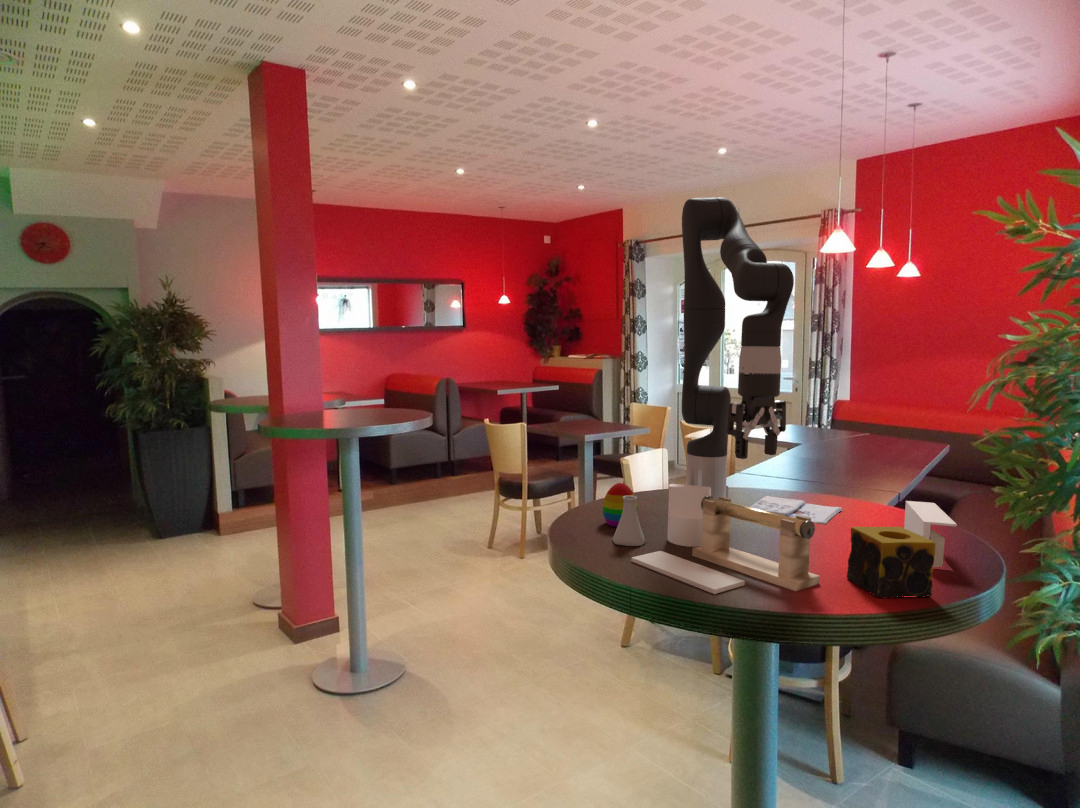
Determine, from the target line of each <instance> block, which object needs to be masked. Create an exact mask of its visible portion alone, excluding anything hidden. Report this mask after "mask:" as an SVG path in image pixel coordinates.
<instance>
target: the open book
mask: <svg viewBox="0 0 1080 808" xmlns="http://www.w3.org/2000/svg"><path fill="white" fill-rule="evenodd" d="M750 507H751V508H755V509H759V510H764V511H768V512H772V513H776V514H780V515H784V516H788V517H792V518H796V516H799V515H800V516H804V517H808V518H811V521H812V522H813V523H814V524H820V525H821V524H822V525H827V524H828V523H829V521H830V520H832V519H833V518H834V517H835V516H836V515H838V514H839V512H840V511H841V512H843V508H842V507H841V506H829V505H828V506H826V505H820V504H814V503H806V501H805V500H804V499H803V500H802V499H792V498H785V497H784V498H781V497H777V496H770V495H766V496H764V497H762V498H761V499H760V500H758V501H756V502H754V504H752V505H750ZM797 511H800V512H801V513H795V512H797ZM841 512H840V513H841Z"/></svg>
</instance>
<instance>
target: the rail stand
mask: <svg viewBox="0 0 1080 808" xmlns="http://www.w3.org/2000/svg"><path fill="white" fill-rule="evenodd" d="M719 500H723V501H727V502H731V503H732V499H731V498H730V497H728V498H726V497H719ZM715 511H716V502H715V501H711V500H707V499H705V500H703V522H702V546H697V547H692V550H691V551H692V553H691V556H692V557H695V558H699V559H701V560H703V561H707V562H709V563H712V564H715V565H718V566H721V567H724V568H726V569H730V570H733V571H736V572H740V573H741V574H744V575H747V576H750V577H752V578H756V579H758V580H761V581H764V582H768V583H770V584H774V585H776V586H779V587H781V588H785V589H787V590H791V591H793V592H799V591H801V590H804V589H807V588H811V587H813V586H817V585H820V577H821V576H820V575H819V574H815V573H812V572H809V570H810V550H811V549H810V548H811V547H810V546H811V538H810V539H806V538H803V537H802V536H799V535H795V524H796V522H795V521H791V520H787V519H781V526H780V530H779V544H778V545H779V549H778V551H779V552H778V561H774V560H771V559H767V558H765V557H762V556H759V555H755V554H752V553H748V552H745V551H742V550H739V549H736V548H733V547H731V546H730V543H731V542H730V541H731V539H730V537H731V519H732V517H729V516H725V515H721V514H717V513H715ZM796 519H800V520H804V521H805V520H809V521H811V518H808V517H804V516H800V515H799V516H796Z"/></svg>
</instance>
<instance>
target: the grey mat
mask: <svg viewBox="0 0 1080 808" xmlns="http://www.w3.org/2000/svg"><path fill="white" fill-rule="evenodd" d="M630 561H631V563H635V564H636V565H640V566H642V567H644V568H646V569H648V570H649V569H650V570H653V571H655V572H657V573H660V574H661V575H664V576H665V575H666V576H667V577H670V578H672V579H674V580H677V581H680V582H683V583H685V584H687V585H691V586H693V587H695V588H697V589H700V590H704V591H706V592H708V593H711V594H713V595H716V594H719V593H723V592H726V591H727V592H728V591H729V590H730V591H731V590H734V589H737V588H739V587H743V586H745V585H746V581H745V580H743V579H740V578H738V577H735V576H732V575H729V574H727V573H724V572H721V571H718V570H717V569H713V568H710V567H708V566H704V565H702V564H700V563H696V562H694V561H690V560H688V559H684V558H683V557H679V556H677V555H674V554H670V553H668V552H665V551H662V550H658V551H654V552H649V553H644V554H641V555H637V556H632V557H631V560H630Z"/></svg>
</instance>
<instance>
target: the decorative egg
mask: <svg viewBox="0 0 1080 808" xmlns="http://www.w3.org/2000/svg"><path fill="white" fill-rule="evenodd" d="M623 496H636V495H635V494H634V491H633V490H632V488H630V487H629V486H628V485H627V484H626V483H623V482H618V483H615V484H613V485H612V486H611V487H609V489H608V491H607V492H606V494H605V496H604V499H603V502H602V515H603V518H604V520H605V522H606V523H607V525H609V526H610V527H613V528H617V527H618V524H619V521H620V518H621V516H622V512H623V507H624V500H623ZM637 502H638V501H637V500H636V510H637V511H638V503H637Z"/></svg>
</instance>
